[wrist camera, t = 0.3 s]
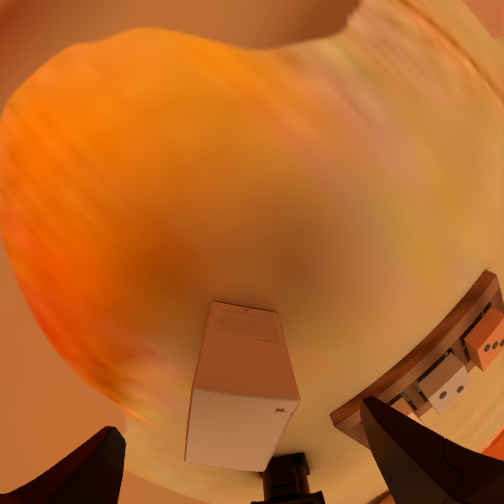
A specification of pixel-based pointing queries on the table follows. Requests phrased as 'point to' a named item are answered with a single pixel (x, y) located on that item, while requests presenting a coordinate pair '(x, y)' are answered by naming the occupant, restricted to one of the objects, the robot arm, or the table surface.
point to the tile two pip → (445, 383)
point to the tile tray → (424, 358)
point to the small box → (240, 390)
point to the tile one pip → (406, 409)
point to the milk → (488, 14)
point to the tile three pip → (486, 339)
